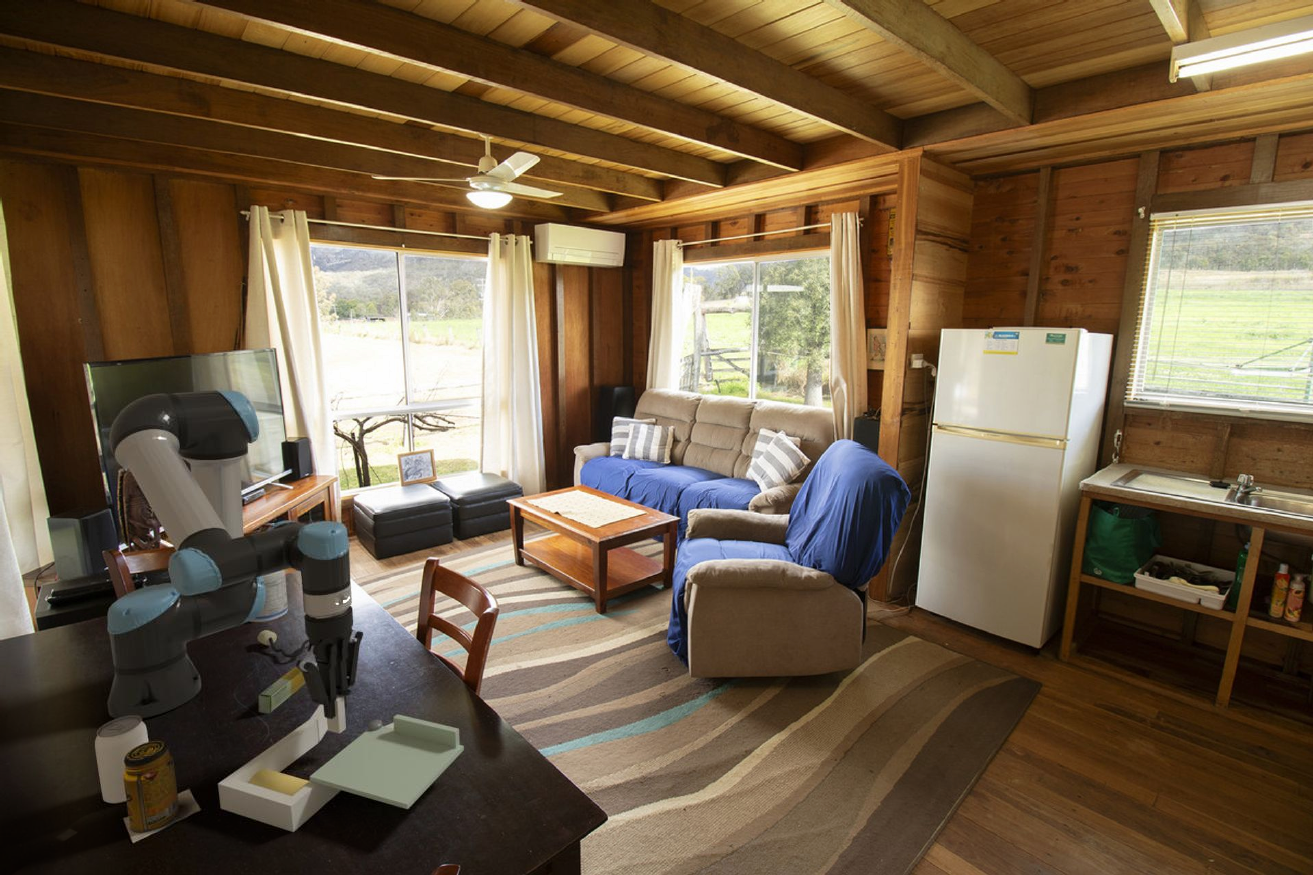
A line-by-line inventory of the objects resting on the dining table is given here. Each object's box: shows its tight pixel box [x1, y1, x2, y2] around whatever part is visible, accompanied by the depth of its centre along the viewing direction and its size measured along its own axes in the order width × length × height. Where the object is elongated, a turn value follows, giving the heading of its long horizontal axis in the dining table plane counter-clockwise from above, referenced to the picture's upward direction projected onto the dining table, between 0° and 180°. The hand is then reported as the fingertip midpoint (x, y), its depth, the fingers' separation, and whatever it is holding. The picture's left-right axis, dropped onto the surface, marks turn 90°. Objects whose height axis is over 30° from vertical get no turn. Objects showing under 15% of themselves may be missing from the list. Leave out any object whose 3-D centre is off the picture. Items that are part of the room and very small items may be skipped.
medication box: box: [258, 665, 306, 714], centre depth 128 cm, size 12×3×4 cm, turn 174°
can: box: [94, 715, 149, 804], centre depth 100 cm, size 6×6×12 cm
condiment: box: [123, 740, 202, 844], centre depth 95 cm, size 7×8×12 cm
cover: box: [309, 713, 465, 810], centre depth 101 cm, size 15×20×4 cm
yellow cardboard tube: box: [249, 769, 310, 796], centre depth 100 cm, size 10×4×4 cm
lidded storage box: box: [217, 704, 394, 833], centre depth 106 cm, size 22×19×4 cm
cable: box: [257, 629, 309, 658], centre depth 150 cm, size 16×16×4 cm
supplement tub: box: [249, 569, 289, 623], centre depth 164 cm, size 10×10×15 cm
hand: (336, 729), depth 111 cm, fingers closed
